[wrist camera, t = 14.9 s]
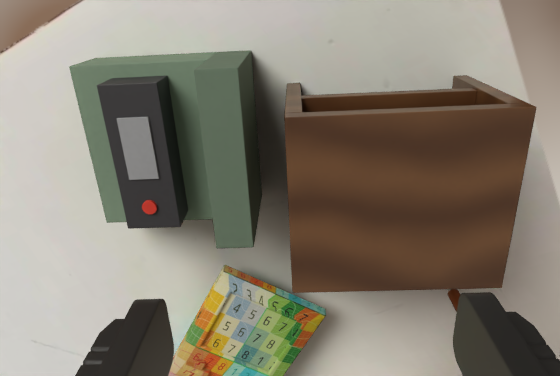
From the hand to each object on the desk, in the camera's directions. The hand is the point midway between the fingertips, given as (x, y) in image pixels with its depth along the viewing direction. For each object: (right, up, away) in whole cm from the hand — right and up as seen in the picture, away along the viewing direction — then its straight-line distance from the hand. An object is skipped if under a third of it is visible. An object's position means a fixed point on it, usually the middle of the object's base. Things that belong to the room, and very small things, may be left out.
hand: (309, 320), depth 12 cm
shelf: (+8, +7, +30) cm, 31 cm away
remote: (-12, +7, +25) cm, 28 cm away
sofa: (-10, +9, +29) cm, 32 cm away
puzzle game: (-6, -14, +39) cm, 42 cm away
